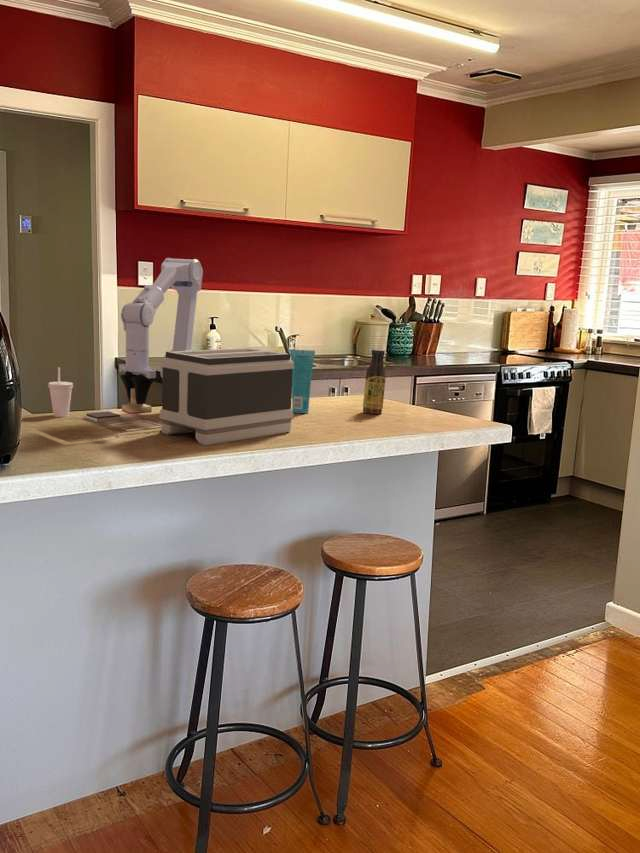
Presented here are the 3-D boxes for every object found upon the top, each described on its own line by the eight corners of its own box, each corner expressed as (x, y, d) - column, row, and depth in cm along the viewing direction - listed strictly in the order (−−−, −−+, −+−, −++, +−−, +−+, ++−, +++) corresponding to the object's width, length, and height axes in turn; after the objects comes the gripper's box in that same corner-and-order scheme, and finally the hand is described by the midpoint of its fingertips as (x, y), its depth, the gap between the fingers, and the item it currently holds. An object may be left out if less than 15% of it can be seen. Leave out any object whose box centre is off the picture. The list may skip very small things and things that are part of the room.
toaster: (303, 431, 212) (307, 353, 208) (204, 447, 187) (206, 359, 183) (257, 420, 224) (259, 346, 220) (158, 434, 199) (159, 351, 195)
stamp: (142, 409, 206) (142, 386, 205) (151, 412, 203) (151, 389, 202) (121, 411, 202) (122, 388, 201) (130, 414, 199) (131, 391, 198)
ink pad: (109, 415, 215) (109, 410, 214) (122, 420, 210) (122, 415, 210) (83, 418, 210) (83, 413, 209) (96, 422, 205) (96, 417, 204)
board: (135, 415, 222) (135, 412, 221) (179, 428, 206) (179, 425, 206) (77, 421, 210) (77, 417, 209) (120, 435, 194) (120, 432, 194)
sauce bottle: (365, 414, 241) (369, 350, 237) (360, 411, 247) (363, 348, 243) (386, 414, 243) (390, 350, 239) (379, 411, 249) (383, 348, 245)
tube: (310, 411, 242) (313, 349, 239) (313, 414, 238) (316, 351, 234) (287, 410, 241) (289, 348, 237) (288, 413, 236) (291, 350, 233)
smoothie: (43, 418, 211) (42, 366, 208) (61, 415, 216) (60, 365, 214) (61, 421, 208) (60, 369, 205) (78, 418, 213) (78, 367, 211)
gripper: (108, 347, 202) (108, 399, 204) (138, 353, 192) (138, 408, 194) (132, 347, 207) (132, 397, 209) (163, 352, 197) (162, 406, 199)
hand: (136, 402), depth 202 cm, fingers closed on stamp, 3 cm apart
